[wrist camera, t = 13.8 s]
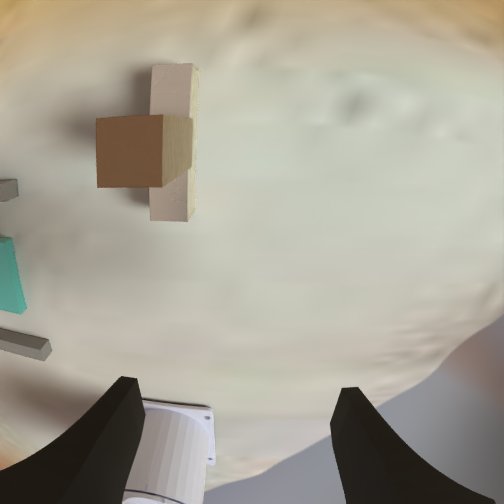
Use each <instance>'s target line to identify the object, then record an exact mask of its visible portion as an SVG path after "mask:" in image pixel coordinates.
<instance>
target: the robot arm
mask: <svg viewBox="0 0 504 504" xmlns="http://www.w3.org/2000/svg"><path fill="white" fill-rule="evenodd" d="M330 428H331V437H332V445H333V450H334V454H335V458H336V462H337V466H338V470H339V474H340V478H341V482H342V486H343V490H344V494H345V499H346V504H496V503H495V501H494V500H493V499H491V498H488V497H486V496H483V495H481V494H478V493H476V492H474V491H472V490H470V489H468V488H465V487H464V486H462V485H460V484H458V483H457V482H455V481H453V480H452V479H450V478H448V477H447V476H445V475H444V474H442V473H441V472H439V471H438V470H436V469H435V468H434V467H432V466H431V465H430V464H429V463H427V462H426V461H425V460H424V459H423V458H421V457H420V456H419V455H418V454H417V453H416V452H414V451H413V450H412V449H411V448H410V447H409V446H408V445H407V444H406V443H405V442H404V441H403V440H402V439H401V438H400V437H399V436H398V435H397V433H395V431H394V430H393V429H392V428H391V427H390V426H389V425H388V424H387V422H386V421H385V420H384V419H383V418H382V416H381V415H380V414H379V413H378V412H377V410H376V409H375V408H374V406H373V405H372V404H371V403H370V401H369V400H368V399H367V398H366V396H365V395H364V394H363V393H362V391H361V390H360V389H359V388H358V387H350V388H342V389H341V392H340V395H339V398H338V401H337V404H336V407H335V410H334V413H333V416H332V419H331V422H330ZM215 463H216V458H215V439H214V416H213V410H212V409H211V408H208V407H196V406H186V405H177V404H168V403H160V402H153V401H146V400H142V398H141V393H140V389H139V385H138V380H137V378H131V377H124V376H121V377H120V378H118V380H117V381H116V382H115V383H114V384H113V385H112V386H111V387H110V388H109V389H108V390H107V391H106V393H105V394H104V395H103V396H102V397H101V398H100V399H99V400H98V401H97V402H96V403H95V404H94V405H93V406H92V407H91V408H90V409H89V410H88V411H87V412H86V413H85V414H84V415H83V416H82V417H81V418H80V419H79V420H78V421H77V422H75V423H74V424H73V425H72V426H71V427H70V428H69V429H68V430H66V431H65V432H64V433H63V434H62V435H60V436H59V437H58V438H56V439H55V440H54V441H52V442H51V443H50V444H48V445H47V446H45V447H44V448H42V449H41V450H39V451H38V452H36V453H35V454H33V455H31V456H30V457H28V458H26V459H24V460H22V461H20V462H18V463H16V464H14V465H12V466H10V467H8V468H6V469H3V470H1V471H0V504H203V495H204V486H205V476H206V466H213V465H215Z"/></svg>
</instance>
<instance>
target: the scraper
mask: <svg viewBox="0 0 504 504" xmlns="http://www.w3.org/2000/svg"><path fill="white" fill-rule="evenodd" d="M199 80H200V71H199V70H198V69H197V68H196V67H195V66H194V65H193V64H192V63H187V64H165V65H152V78H151V96H150V115H137V116H122V117H109V118H98V119H96V163H97V188H117V187H148V188H149V202H150V221H179V222H188V220H189V219H190V217H191V216H192V214H193V213H194V211H195V191H196V146H197V119H198V98H199Z"/></svg>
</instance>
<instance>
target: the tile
mask: <svg viewBox="0 0 504 504" xmlns="http://www.w3.org/2000/svg"><path fill="white" fill-rule="evenodd" d="M26 309H27V307H26V303H25V299H24V295H23V291H22V287H21V283H20V278H19V274H18V269H17V264H16V259H15V253H14V248H13V242H12V238H2V237H0V310H4V311H8V312H12V313H16V314H22V313H23V312H24V311H25V310H26Z"/></svg>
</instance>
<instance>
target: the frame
mask: <svg viewBox="0 0 504 504" xmlns="http://www.w3.org/2000/svg"><path fill="white" fill-rule="evenodd" d="M17 196H18V189H17V179H14V180H3V181H0V202H5V201H8V200H10V199H12V198H15V197H17ZM0 349H1V350H4V351H8V352H11V353H15V354H18V355H22V356H26V357H29V358H33V359H37V360H41V361H45V360H46V359H47V357H48V356H49V355H50V353H51V352H52V349H51V346H50V343H49V340H48V339H43V338H38V337H34V336H30V335H25V334H21V333H17V332H13V331H9V330H5V329H1V328H0Z"/></svg>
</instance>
